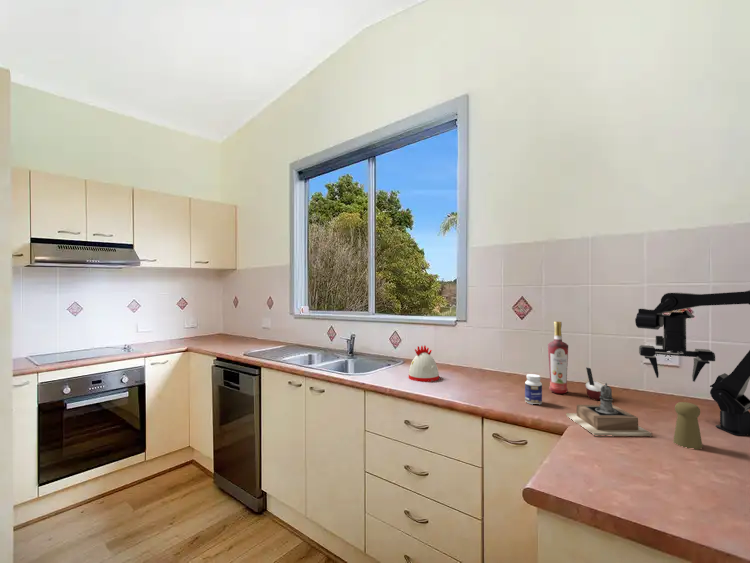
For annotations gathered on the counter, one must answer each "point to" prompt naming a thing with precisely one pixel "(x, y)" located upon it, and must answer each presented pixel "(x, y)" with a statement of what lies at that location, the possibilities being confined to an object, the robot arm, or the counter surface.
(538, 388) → the pill bottle
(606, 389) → the grey chess piece
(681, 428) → the cork
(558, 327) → the liquor
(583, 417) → the socket block
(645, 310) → the robot arm
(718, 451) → the counter surface
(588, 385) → the cocoa
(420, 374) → the kitchen timer
